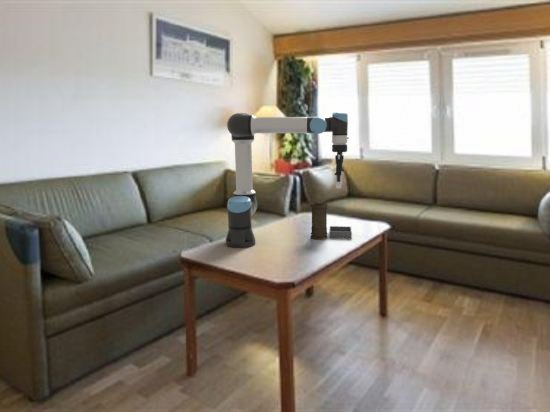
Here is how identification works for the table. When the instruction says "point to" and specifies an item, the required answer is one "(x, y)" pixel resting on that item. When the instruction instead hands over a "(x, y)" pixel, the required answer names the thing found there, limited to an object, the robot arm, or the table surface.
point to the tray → (340, 232)
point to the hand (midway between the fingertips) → (339, 186)
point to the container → (319, 221)
